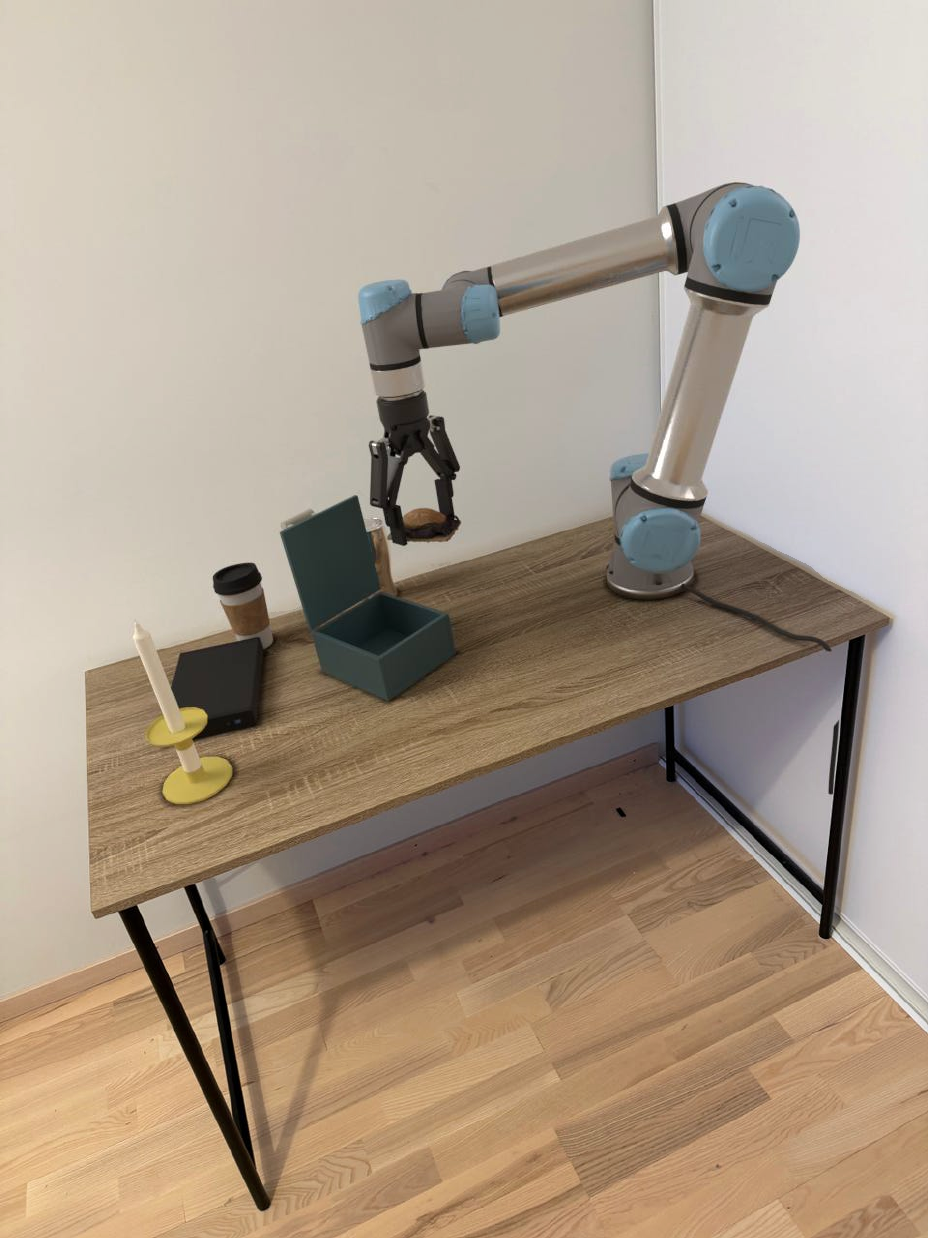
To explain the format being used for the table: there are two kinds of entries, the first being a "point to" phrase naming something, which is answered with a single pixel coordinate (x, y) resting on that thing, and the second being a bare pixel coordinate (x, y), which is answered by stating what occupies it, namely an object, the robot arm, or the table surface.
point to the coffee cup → (244, 601)
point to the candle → (180, 735)
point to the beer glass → (380, 554)
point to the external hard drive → (221, 684)
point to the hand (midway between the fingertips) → (424, 530)
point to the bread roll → (429, 526)
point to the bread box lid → (330, 559)
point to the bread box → (384, 644)
